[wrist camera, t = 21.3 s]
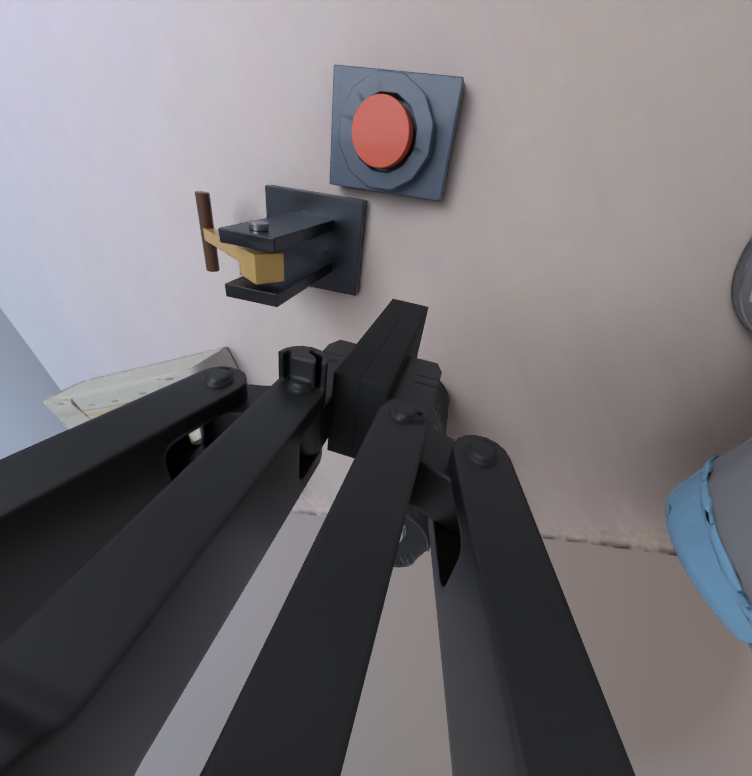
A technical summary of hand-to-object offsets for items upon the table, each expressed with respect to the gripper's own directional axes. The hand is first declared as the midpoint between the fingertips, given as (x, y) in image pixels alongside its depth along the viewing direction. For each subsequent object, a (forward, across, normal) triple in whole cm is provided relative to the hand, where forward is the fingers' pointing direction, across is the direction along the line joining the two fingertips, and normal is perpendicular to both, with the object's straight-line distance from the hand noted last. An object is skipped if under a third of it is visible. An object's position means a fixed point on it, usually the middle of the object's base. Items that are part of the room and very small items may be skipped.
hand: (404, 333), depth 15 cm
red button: (+19, +7, -8) cm, 21 cm away
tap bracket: (+22, +14, +2) cm, 26 cm away
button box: (+22, +7, -8) cm, 24 cm away
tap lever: (+15, +17, +2) cm, 23 cm away
